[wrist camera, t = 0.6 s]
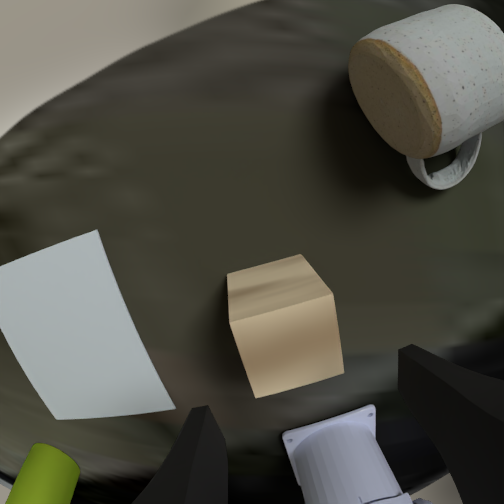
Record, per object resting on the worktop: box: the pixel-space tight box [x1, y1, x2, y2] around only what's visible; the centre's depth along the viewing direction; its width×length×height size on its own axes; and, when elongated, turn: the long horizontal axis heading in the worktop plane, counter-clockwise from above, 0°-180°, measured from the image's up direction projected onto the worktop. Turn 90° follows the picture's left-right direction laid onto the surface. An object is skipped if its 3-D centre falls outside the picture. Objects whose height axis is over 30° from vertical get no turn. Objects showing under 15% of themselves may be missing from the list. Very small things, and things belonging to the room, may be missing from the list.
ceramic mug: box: [348, 4, 504, 190], centre depth 13 cm, size 11×8×8 cm
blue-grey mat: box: [0, 230, 176, 420], centre depth 19 cm, size 14×12×1 cm
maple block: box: [227, 254, 344, 398], centre depth 17 cm, size 4×4×6 cm
